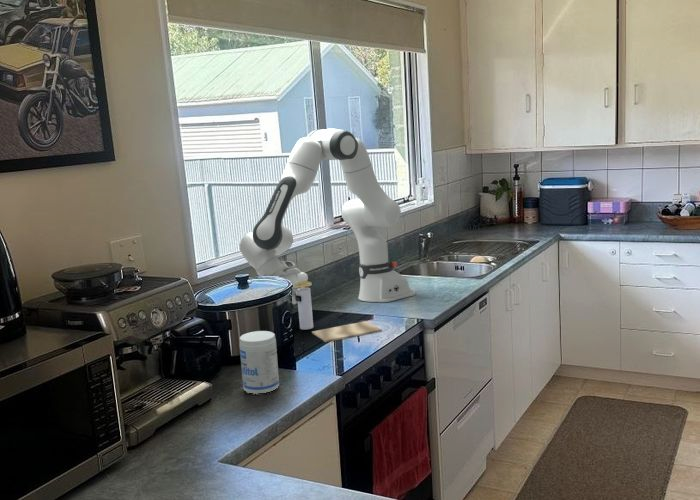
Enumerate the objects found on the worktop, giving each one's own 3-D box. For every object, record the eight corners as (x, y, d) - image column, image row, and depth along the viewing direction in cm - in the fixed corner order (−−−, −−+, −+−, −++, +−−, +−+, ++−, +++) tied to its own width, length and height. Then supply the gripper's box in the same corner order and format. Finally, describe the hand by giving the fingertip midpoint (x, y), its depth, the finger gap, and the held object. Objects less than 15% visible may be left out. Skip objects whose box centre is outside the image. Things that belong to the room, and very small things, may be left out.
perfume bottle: (311, 326, 239) (306, 269, 235) (318, 329, 234) (313, 272, 230) (295, 329, 236) (290, 272, 233) (302, 333, 231) (297, 274, 228)
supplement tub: (236, 393, 182) (231, 340, 179) (255, 380, 190) (250, 329, 188) (268, 397, 178) (263, 342, 175) (286, 383, 186) (281, 331, 184)
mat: (366, 322, 238) (366, 321, 238) (381, 331, 227) (381, 329, 227) (312, 333, 231) (311, 331, 230) (325, 342, 220) (325, 340, 220)
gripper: (257, 273, 229) (282, 304, 225) (295, 260, 245) (319, 289, 242) (248, 285, 232) (273, 316, 228) (287, 272, 249) (310, 300, 245)
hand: (297, 302), depth 235 cm, fingers closed
